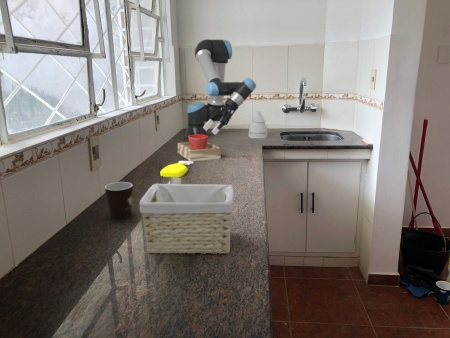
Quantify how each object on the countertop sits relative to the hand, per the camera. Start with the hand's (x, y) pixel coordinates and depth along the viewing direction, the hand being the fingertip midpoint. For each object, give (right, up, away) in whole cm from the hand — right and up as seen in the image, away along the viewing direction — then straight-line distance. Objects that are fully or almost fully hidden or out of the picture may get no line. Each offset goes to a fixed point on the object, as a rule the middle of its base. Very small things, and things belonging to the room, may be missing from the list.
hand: (208, 131), depth 200 cm
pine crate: (-6, -13, +2) cm, 14 cm away
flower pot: (-6, -12, +2) cm, 14 cm away
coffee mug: (-24, -36, -79) cm, 90 cm away
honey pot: (+32, +1, +56) cm, 64 cm away
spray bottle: (-13, -22, -27) cm, 37 cm away
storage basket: (-1, -41, -98) cm, 107 cm away
